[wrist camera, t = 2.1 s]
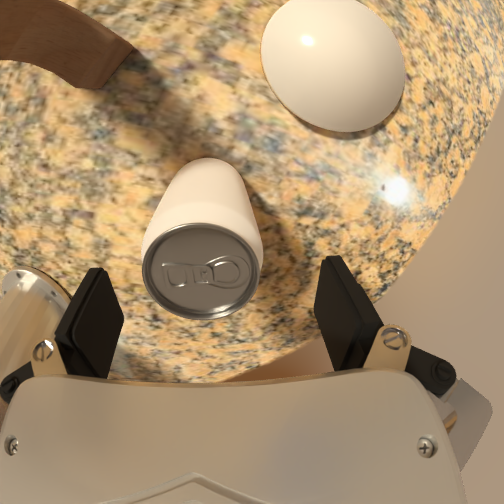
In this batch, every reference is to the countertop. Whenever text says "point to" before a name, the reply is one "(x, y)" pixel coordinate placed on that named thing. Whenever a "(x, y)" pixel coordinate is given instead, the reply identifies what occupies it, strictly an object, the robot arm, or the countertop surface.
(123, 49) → the wooden block
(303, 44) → the white dome
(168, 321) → the countertop surface
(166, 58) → the countertop surface
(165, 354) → the countertop surface
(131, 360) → the countertop surface
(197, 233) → the can
